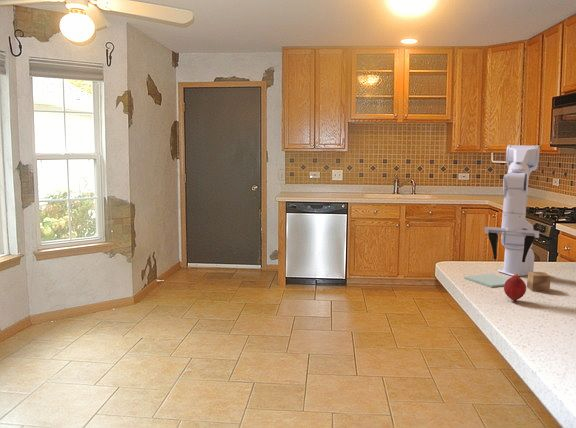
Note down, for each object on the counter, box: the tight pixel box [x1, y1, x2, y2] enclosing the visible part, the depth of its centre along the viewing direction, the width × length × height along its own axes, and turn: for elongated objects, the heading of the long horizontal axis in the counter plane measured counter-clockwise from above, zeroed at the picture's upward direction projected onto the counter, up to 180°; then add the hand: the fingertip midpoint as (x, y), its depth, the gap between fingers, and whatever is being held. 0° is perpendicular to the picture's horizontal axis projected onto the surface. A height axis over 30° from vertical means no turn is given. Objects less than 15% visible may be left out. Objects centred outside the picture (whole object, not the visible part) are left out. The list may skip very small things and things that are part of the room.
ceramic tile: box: [463, 273, 509, 288], centre depth 174 cm, size 12×12×1 cm
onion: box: [503, 273, 527, 302], centre depth 152 cm, size 6×6×8 cm
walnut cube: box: [526, 271, 552, 293], centre depth 165 cm, size 5×5×5 cm
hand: (509, 260), depth 156 cm, fingers open, 7 cm apart
